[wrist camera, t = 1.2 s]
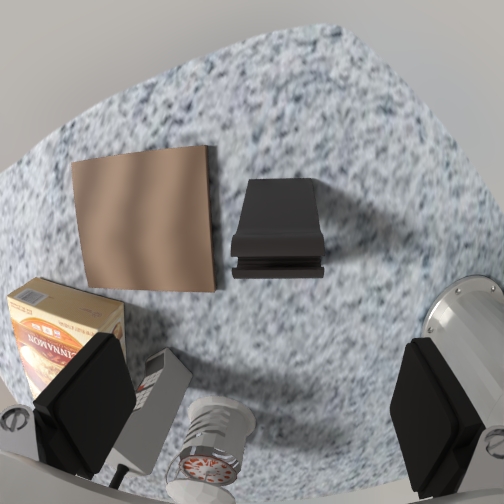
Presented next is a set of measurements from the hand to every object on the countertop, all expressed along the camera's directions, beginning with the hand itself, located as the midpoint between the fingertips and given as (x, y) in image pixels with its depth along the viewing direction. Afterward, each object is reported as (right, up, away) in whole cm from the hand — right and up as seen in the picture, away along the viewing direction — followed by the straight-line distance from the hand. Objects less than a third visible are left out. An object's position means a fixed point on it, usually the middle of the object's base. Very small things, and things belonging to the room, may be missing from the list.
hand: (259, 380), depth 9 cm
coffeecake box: (-23, -2, +24) cm, 33 cm away
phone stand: (+3, +7, +22) cm, 24 cm away
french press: (-5, -20, +32) cm, 38 cm away
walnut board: (-12, +7, +24) cm, 28 cm away
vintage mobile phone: (-11, -10, +29) cm, 33 cm away
